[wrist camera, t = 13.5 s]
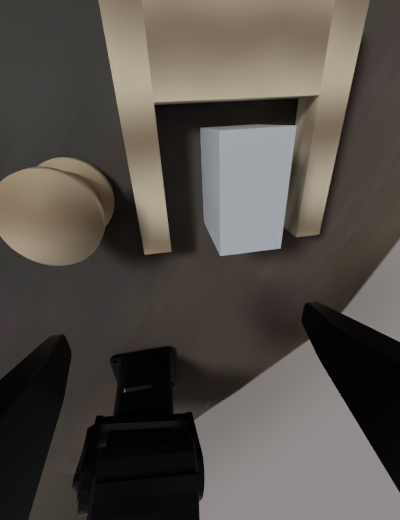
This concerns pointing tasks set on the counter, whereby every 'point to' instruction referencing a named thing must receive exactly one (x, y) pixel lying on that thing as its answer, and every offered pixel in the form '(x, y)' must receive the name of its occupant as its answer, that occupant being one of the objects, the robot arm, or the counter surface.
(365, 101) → the counter surface
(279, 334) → the counter surface
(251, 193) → the tall pale grey block
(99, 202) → the wooden spool
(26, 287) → the counter surface
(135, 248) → the counter surface
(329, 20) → the notched board
